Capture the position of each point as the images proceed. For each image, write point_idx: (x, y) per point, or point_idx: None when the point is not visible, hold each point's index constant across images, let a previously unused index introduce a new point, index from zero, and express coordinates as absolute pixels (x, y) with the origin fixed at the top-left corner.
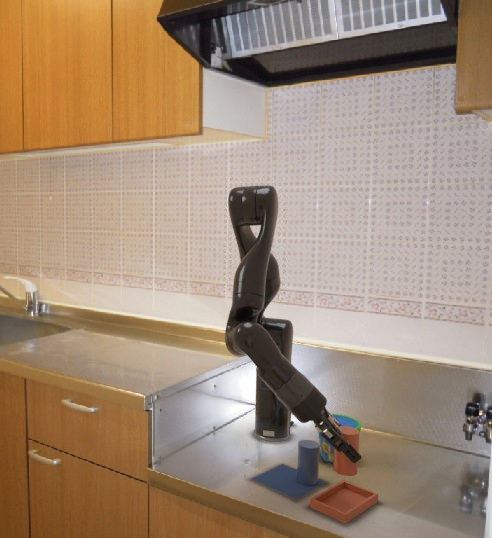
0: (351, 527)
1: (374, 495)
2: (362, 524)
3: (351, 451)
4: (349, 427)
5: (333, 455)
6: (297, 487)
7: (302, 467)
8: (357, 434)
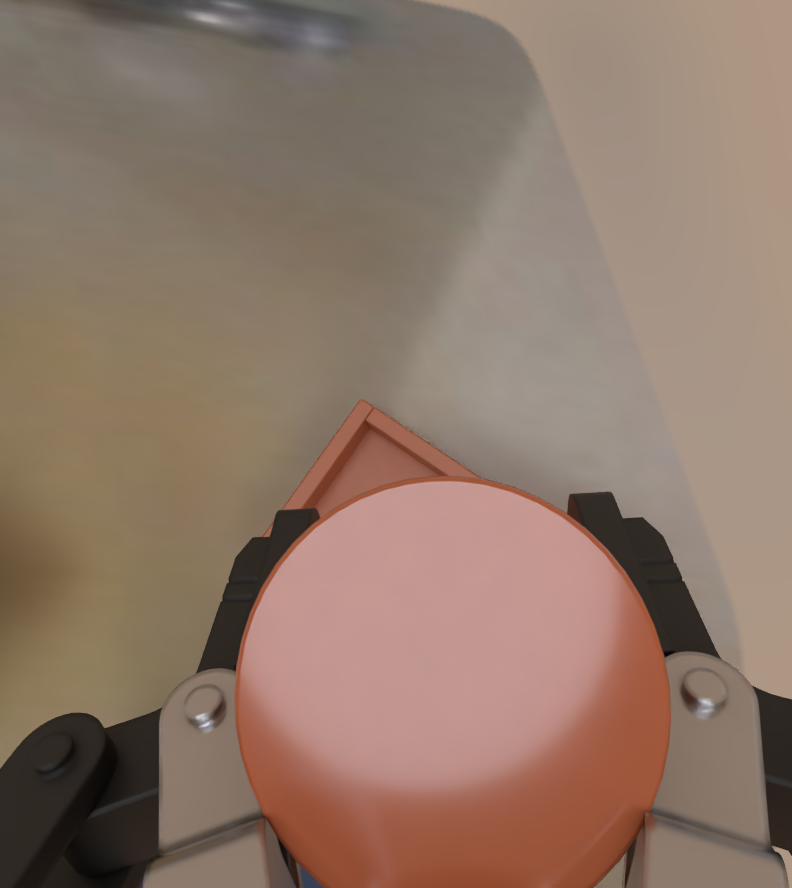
0: (682, 579)
1: (389, 421)
2: (628, 517)
3: (693, 616)
4: (294, 635)
5: None
6: (309, 879)
7: None
8: (577, 522)
